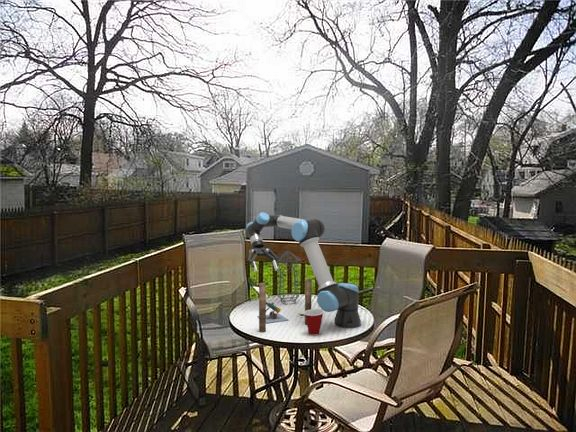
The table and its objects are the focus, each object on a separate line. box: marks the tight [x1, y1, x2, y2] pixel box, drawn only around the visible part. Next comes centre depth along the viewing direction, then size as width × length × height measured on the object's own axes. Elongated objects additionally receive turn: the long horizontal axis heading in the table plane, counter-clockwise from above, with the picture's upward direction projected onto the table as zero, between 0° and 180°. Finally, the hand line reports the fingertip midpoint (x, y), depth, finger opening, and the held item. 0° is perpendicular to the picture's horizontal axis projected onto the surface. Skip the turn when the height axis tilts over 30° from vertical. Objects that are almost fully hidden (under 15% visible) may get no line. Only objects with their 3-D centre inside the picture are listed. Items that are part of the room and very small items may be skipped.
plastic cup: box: [303, 308, 325, 336], centre depth 238 cm, size 11×11×12 cm
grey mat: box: [257, 312, 289, 325], centre depth 263 cm, size 14×14×1 cm
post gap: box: [258, 278, 313, 333], centre depth 246 cm, size 4×32×26 cm, turn 116°
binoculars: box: [266, 301, 282, 319], centre depth 262 cm, size 9×9×10 cm
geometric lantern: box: [276, 250, 302, 305], centre depth 299 cm, size 16×16×35 cm
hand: (266, 270), depth 271 cm, fingers open, 13 cm apart
